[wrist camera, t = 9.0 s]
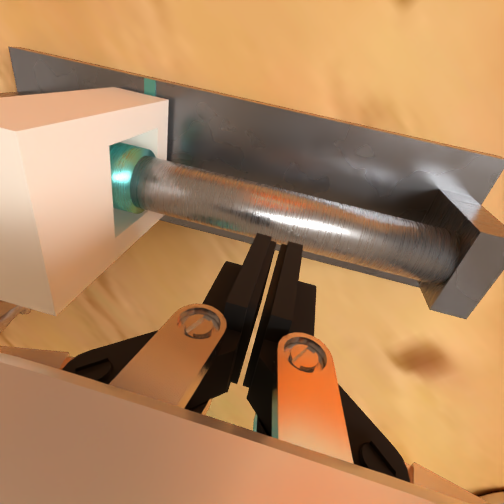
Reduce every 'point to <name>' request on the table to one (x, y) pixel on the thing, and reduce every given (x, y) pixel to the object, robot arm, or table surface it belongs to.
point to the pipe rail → (303, 183)
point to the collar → (68, 189)
